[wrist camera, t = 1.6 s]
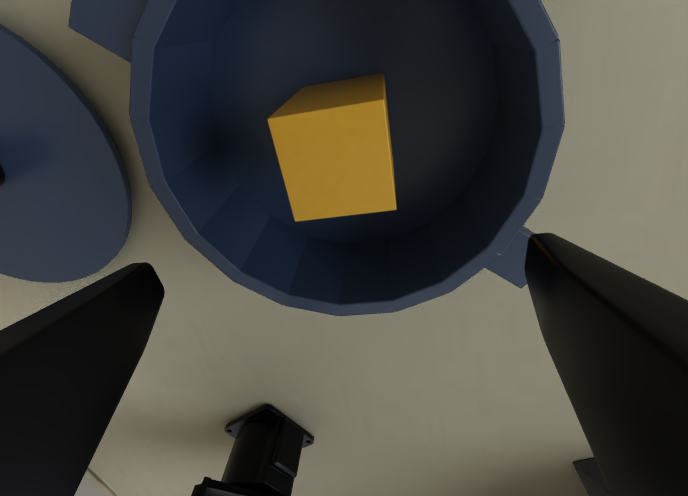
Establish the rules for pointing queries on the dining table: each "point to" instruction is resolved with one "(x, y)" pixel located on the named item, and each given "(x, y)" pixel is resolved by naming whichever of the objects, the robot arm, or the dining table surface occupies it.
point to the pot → (405, 128)
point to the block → (336, 149)
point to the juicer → (592, 477)
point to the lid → (55, 173)
